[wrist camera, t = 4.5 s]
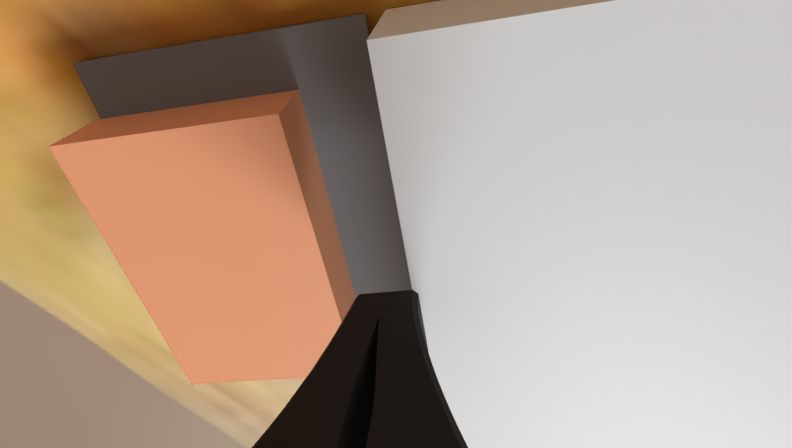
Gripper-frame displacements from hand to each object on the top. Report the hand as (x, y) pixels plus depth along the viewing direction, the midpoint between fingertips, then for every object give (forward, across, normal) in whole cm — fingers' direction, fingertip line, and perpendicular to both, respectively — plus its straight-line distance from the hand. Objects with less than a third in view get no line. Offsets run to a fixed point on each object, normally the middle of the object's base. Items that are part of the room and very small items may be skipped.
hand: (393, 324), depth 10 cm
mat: (+5, +4, 0) cm, 6 cm away
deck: (+5, -6, +3) cm, 9 cm away
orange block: (+2, +5, 0) cm, 6 cm away
